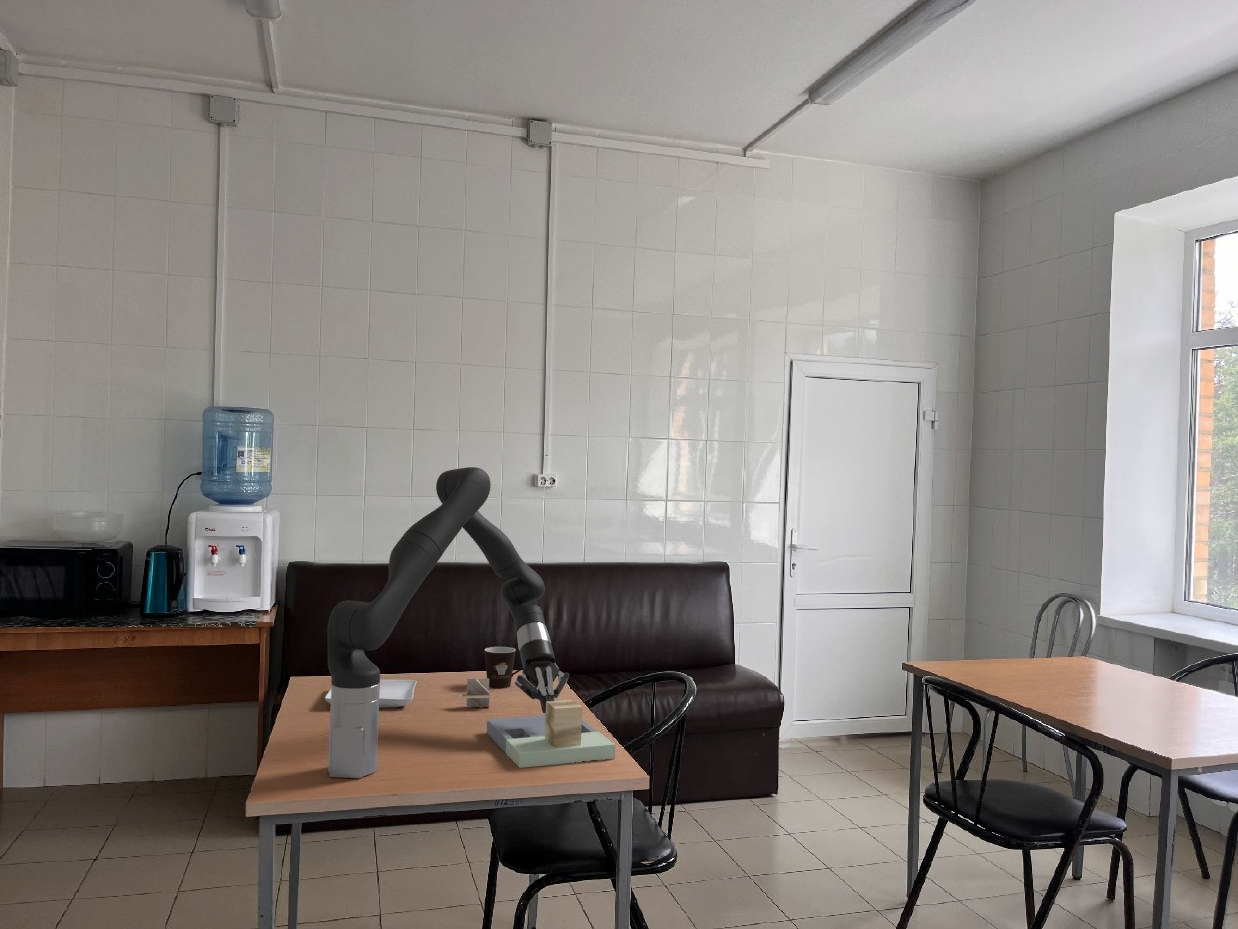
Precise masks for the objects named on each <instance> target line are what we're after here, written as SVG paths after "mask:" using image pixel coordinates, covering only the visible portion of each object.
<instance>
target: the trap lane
mask: <svg viewBox="0 0 1238 929" xmlns="http://www.w3.org/2000/svg"><path fill="white" fill-rule="evenodd" d="M545 718H546V715H545V714H544V715H542V714H541V715H531V716H518V717H517V716H516V717H504V718H491V719H486V734H487V735H488V736H489V737H490V738H491V740H493V742H495V743H496V745H498V746H499V748H500V749H501V750H502V751H503V752H504V753H505V754H506V755H507V757H508V758H509V759H511V762H512V761H513V763H514V764H515V765H516V766H517V767H518V768H519V769H523V768H524V769H525V768H531V767H542V766H543V767H544V766H553V765H555V766H556V765H565V764H574V763H575V762H576V763H583V762H582V761H586V762H591V761H590V760H597V761H604V760H606V759H607V760H615V759H616V744H615V743H614V742H613V741H612V740H610V739H609V738H607V737H606V736H605V735H603V734H602V733H601V732H599V730H596V728H594V727H593V726H591V725H590V724H589V723H587V722H586V721H585V720H584V719H582V730H581V745H573V746H562V747H553V746H552V745H551V744H550V743H549V742H548V741H546V740H545Z"/></svg>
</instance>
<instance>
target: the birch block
mask: <svg viewBox="0 0 1238 929" xmlns="http://www.w3.org/2000/svg"><path fill="white" fill-rule="evenodd" d="M582 720H583V706H582V705H580V704H579V703H578V702H576V700H573V699H567V700H564V699H563V700H554V701H548V702H546V718H545V740H546V741H548V742H549V743H550V744H551V745H552V746H553V747H562V746H573V745H581V730H582Z"/></svg>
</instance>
